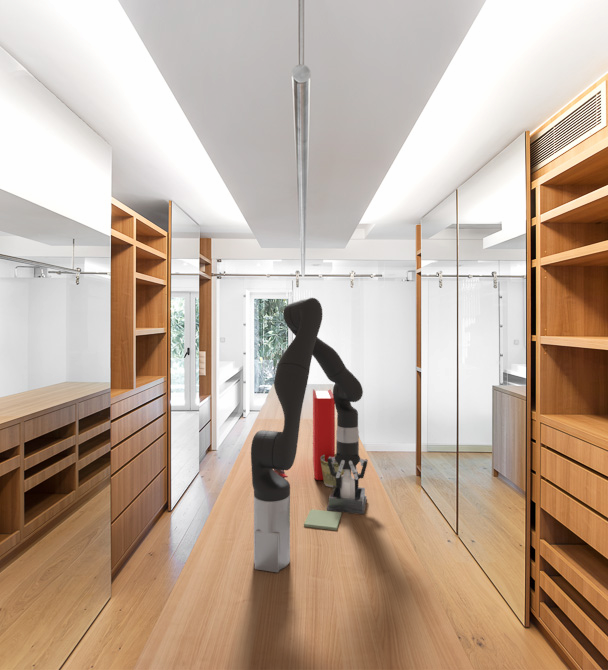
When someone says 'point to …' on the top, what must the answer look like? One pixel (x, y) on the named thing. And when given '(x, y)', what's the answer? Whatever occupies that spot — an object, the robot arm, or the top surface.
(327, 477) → the ceramic cup
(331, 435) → the book
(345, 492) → the eye dropper bottle
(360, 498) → the socket block
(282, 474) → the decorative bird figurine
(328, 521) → the rubber mat
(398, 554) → the top surface
